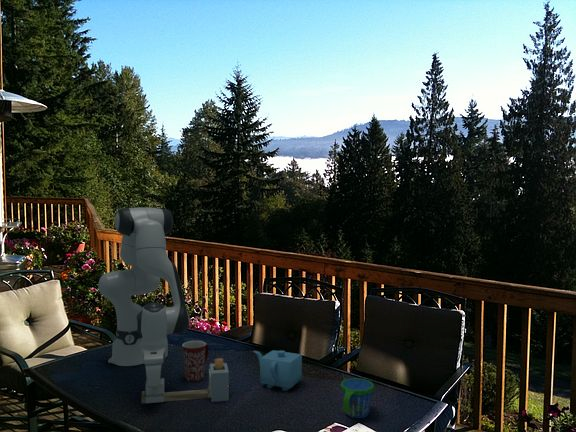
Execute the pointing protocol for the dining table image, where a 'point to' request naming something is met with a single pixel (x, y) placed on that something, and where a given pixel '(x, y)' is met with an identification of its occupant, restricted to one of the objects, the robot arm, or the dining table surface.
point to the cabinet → (219, 383)
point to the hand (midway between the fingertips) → (155, 390)
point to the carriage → (159, 396)
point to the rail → (182, 395)
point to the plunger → (219, 364)
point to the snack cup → (357, 397)
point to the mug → (194, 359)
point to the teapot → (280, 369)
